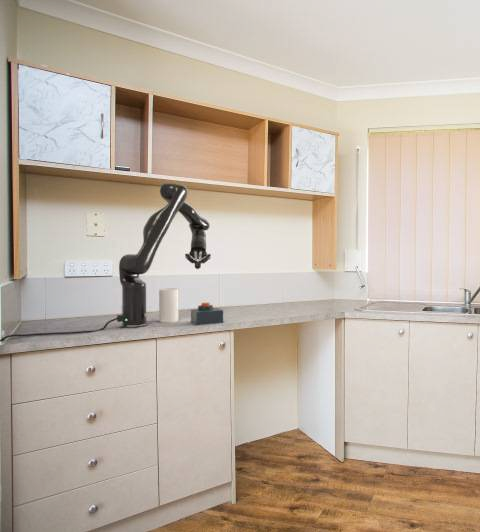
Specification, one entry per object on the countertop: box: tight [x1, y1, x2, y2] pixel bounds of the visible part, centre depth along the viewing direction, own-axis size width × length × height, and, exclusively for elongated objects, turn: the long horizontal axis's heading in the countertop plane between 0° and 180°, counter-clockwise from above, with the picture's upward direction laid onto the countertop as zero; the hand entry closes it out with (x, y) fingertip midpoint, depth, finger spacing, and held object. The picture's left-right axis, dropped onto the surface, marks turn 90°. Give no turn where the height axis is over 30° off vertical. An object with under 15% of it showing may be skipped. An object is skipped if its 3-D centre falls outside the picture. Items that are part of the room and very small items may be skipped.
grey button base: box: [190, 304, 224, 326], centre depth 194 cm, size 12×12×8 cm
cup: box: [158, 288, 179, 323], centre depth 195 cm, size 8×8×16 cm
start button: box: [200, 302, 211, 306], centre depth 195 cm, size 4×4×2 cm
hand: (197, 267), depth 207 cm, fingers closed
